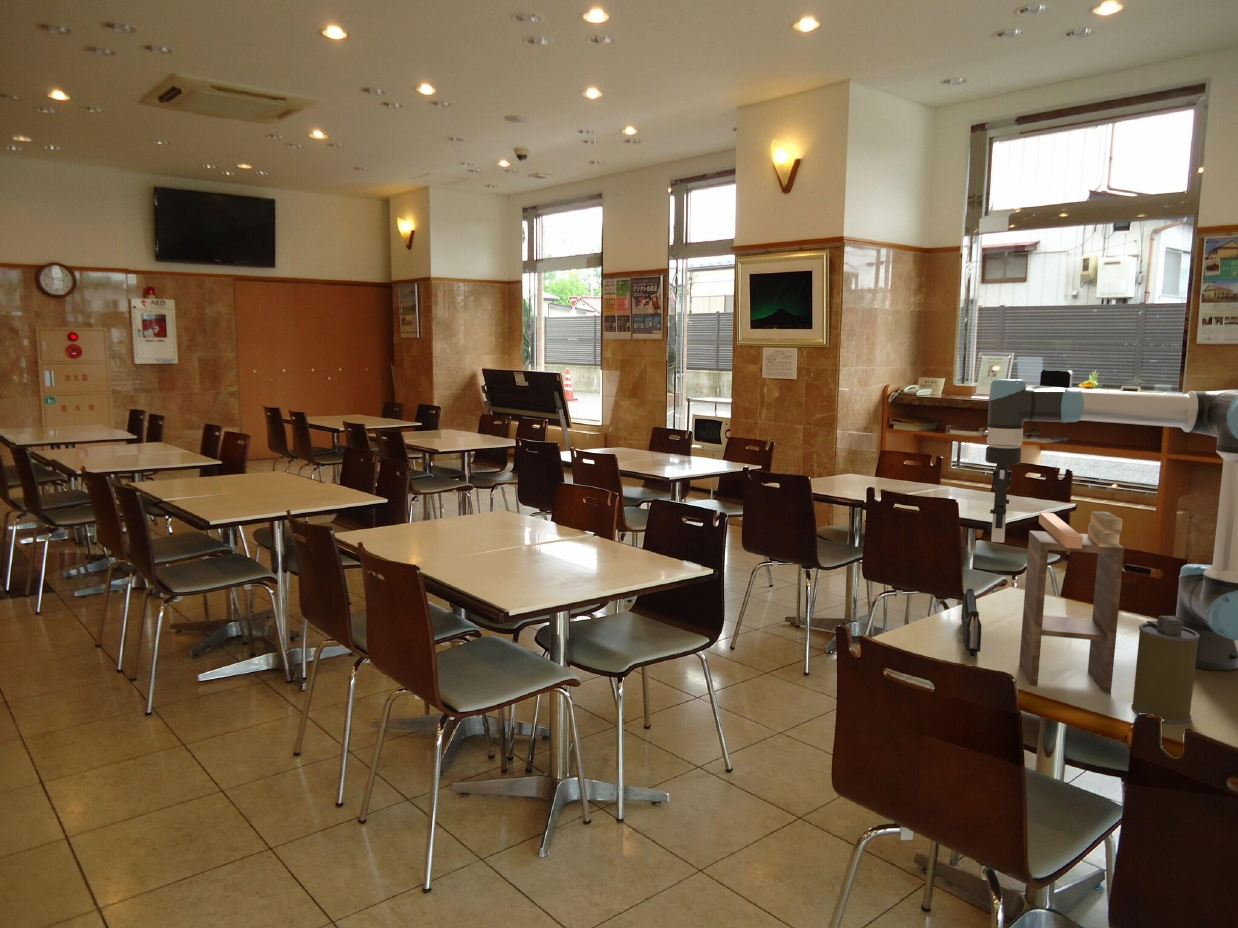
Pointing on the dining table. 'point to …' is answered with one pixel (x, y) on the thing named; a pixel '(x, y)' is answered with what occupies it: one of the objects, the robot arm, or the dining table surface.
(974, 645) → the magazine
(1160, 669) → the canister
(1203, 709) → the dining table surface
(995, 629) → the dining table surface
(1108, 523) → the rack
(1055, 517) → the batten
